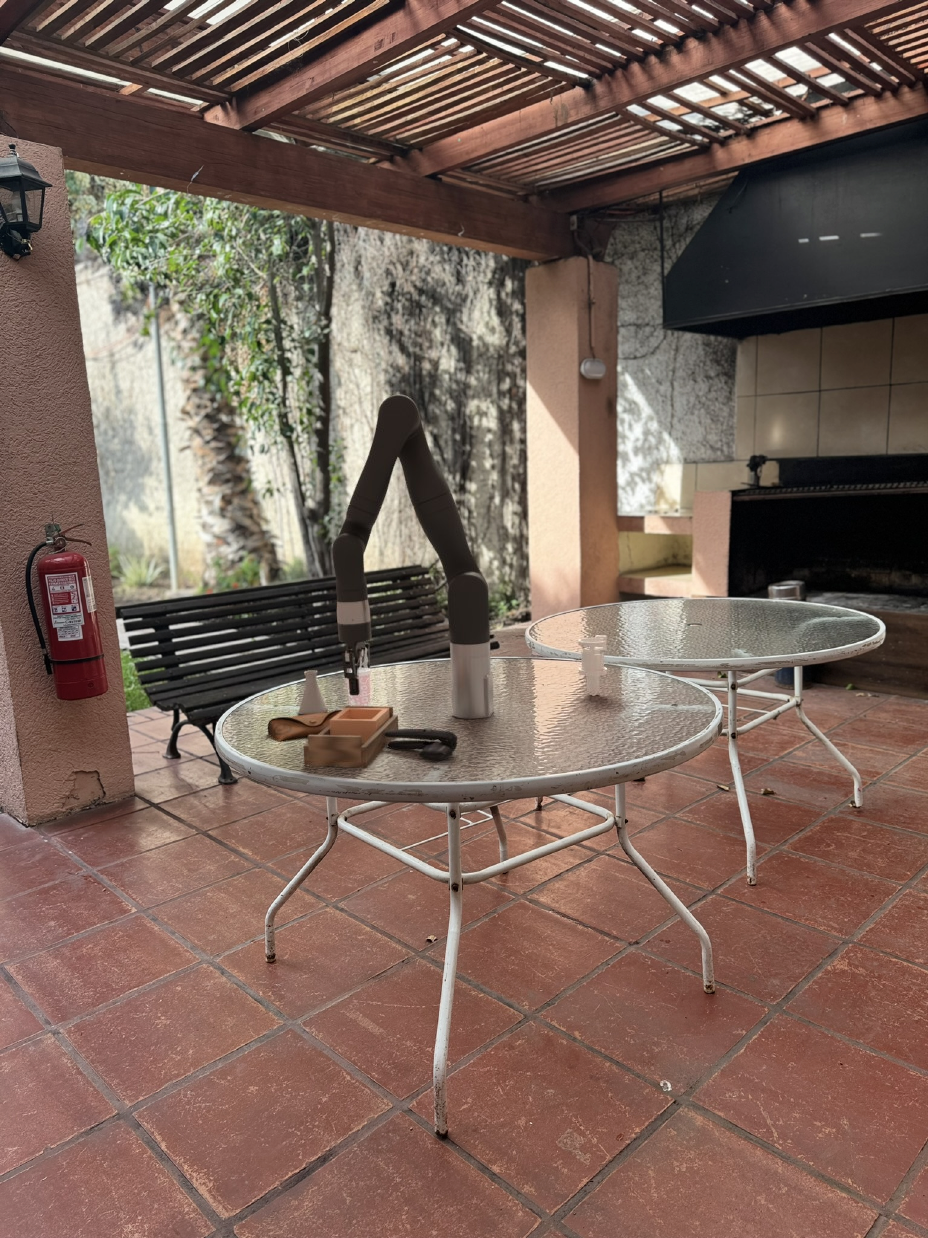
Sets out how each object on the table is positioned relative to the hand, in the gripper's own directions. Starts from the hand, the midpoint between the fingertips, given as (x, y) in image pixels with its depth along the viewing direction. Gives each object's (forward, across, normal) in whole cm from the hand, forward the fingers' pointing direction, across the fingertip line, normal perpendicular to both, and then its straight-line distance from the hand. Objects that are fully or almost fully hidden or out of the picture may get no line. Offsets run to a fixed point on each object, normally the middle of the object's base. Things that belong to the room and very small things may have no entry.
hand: (359, 691), depth 207 cm
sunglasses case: (+7, -12, +8) cm, 16 cm away
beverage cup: (+4, 0, 0) cm, 4 cm away
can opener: (+7, -26, -20) cm, 33 cm away
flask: (+6, +5, +14) cm, 16 cm away
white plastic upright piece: (+8, +26, -52) cm, 59 cm away
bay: (+6, -24, -6) cm, 26 cm away
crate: (+5, -19, -6) cm, 21 cm away
